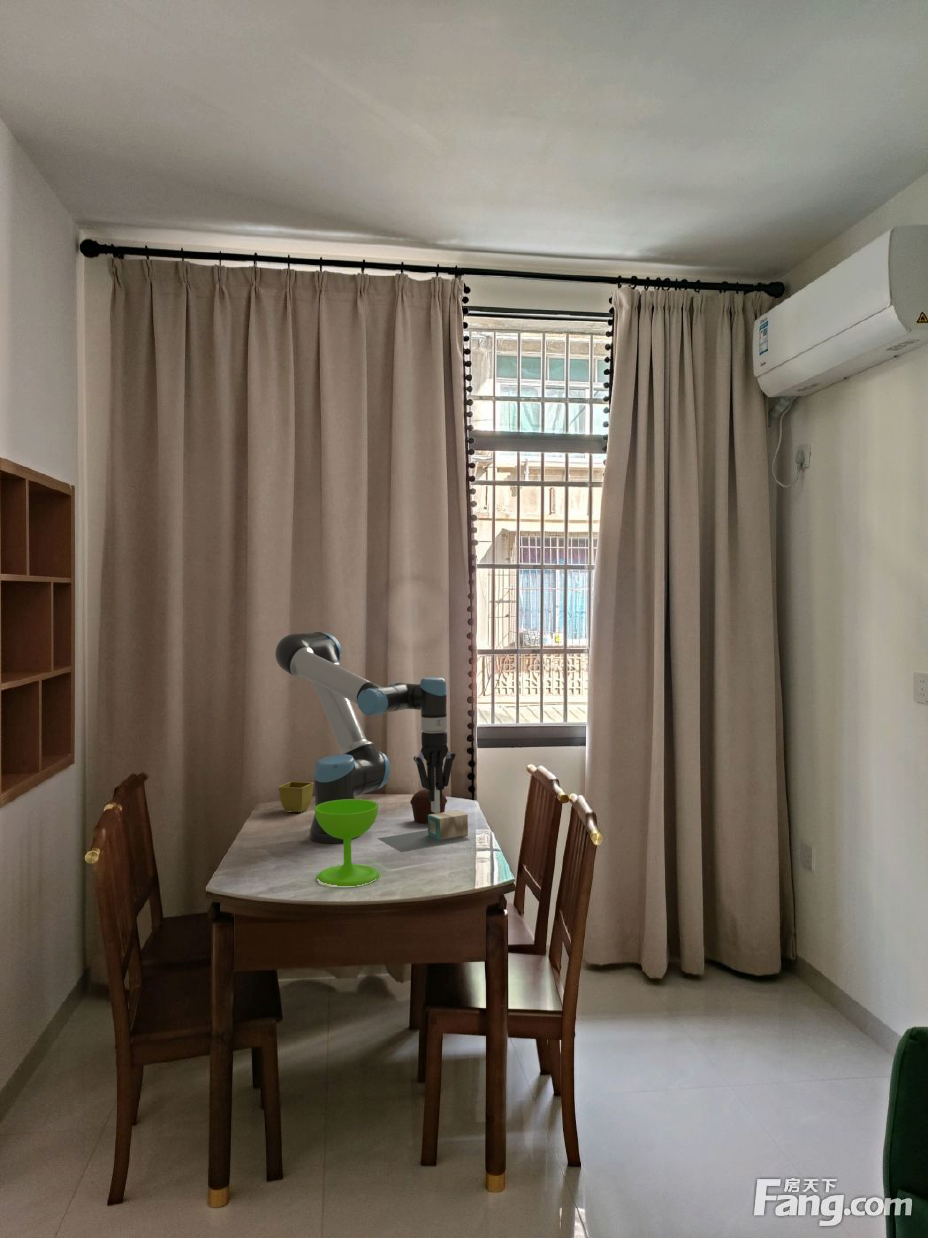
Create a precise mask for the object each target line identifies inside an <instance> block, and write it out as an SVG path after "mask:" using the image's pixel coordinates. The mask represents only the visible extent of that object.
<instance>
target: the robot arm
mask: <svg viewBox="0 0 928 1238" xmlns="http://www.w3.org/2000/svg"><path fill="white" fill-rule="evenodd" d="M274 653H275V655H274V656H275V660H276V662H277V664H278V666H279V667H280V668H281V669H282V670H284V671H285V672H287V674H290V675H291V676H294V677H297V678H301V677H304V678H305V679H306V680H307V681H309V682H311V683H313V686H314V688H315V691H316V693H317V695H318V698H319V701H320V702H321V703H320V704H321V705H322V707H323V710H324V713H325V715H326V718H327V720H328V723H329V725H330V728H331V730H332V733H333V735H334V737H335V740H336V742H337V745H338V747H339V749H340V753H338V754H334V755H332V754H331V755H328V756H323V757H322V758H320V759H319V760H317V762H316V763H315V765H314V774H313V778H314V800H315V802H314V803H315V805H314V807H315V806H317V805H319V804H321V803H324V802H328V801H334V800H343V799H356V796H360V795H363V794H366V793H371V792H375V791H377V790H378V789H381V788H383V787H384V786H385V785H386V784H387V783H388V781H389V780H390V779H389V777H390V775H391V763H390V760H389V758H388V756H387V755H386V753H383V752H382V751H379V750H377V749H376V747H375V744H374V742H372V741H369V740H368V739H367V738H366V735H365V732H364V730H363V728H362V726H361V723H360V720H359V718H358V716H357V714H356V711H355V709H354V707H353V703H354V704H356V705H357V707H358V709H359V710H360V712H361V713H362V714H363V715H366V716H379V715H382V714H386V713H392V712H398V711H404V710H419V711H420V724H421V725H420V727H421V729H420V730H421V740H420V741H421V749H420V753H419V754H418V755H417V756H416V755H415V756H414V757H413V759H412V760H413V761H414V762H415V764H416V767H417V771H418V775H419V780H420V783H421V786H422V788H423V789H428V799H429V801H431V811H432V812H434V813H439V812H440V800H442V794H443V791H444V789H445V787H448V786H449V783H450V782H449V781H450V776H451V772H452V766H453V762H454V760H455V757H456V755H457V754H456V753H455V752H451V751H450V750H449V747H448V732H447V731H446V730H447V729H448V716H447V715H448V713H447V701H448V699H447V696H448V691H447V683H446V682H447V681H446V679H444V678H443V677H423V678H421V679H420V682H419V683H420V684H419V683H418V684H417V683H406V682H394V683H389V685H386V686H380V685H378V684H376V683H374V682H372V681H370V680H368V679H365V678H364V677H362V676H360V675H358V674H356V673H355V672H352V671H349V670H347V669H346V668H344V667H341V659H342V655H341V654H342V647H341V644H340V642H339V641H338V639H337V638H336V637H335V636H334V635H332V634H331V633H329V632H321V631H316V632H308V633H307V632H306V633H291V634H288V635H286V636H284V637H283V638H282V639H280V641H279V642H278V643H277V646H276V648H275V652H274ZM444 759H445V760H444ZM424 760H425V762H426V767H425V764H424ZM426 770H427V771H426ZM310 826H311V827H310V828H309V839H310V840H311V841H313V842H315V843H322V844H340V843H344V842H343V839H339V838H335V837H333V836H331V835H329V834H328V833H326V832H325V831H324V830H323V829H322V827H321V826H320V825H319V823H318V821H317V819H316V816H315V814H314V816H313V818H312V821H311V825H310ZM360 837H361V836H358V837H355V838H353V839H351V841H352V840H355V839H358V838H360Z"/></svg>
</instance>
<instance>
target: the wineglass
mask: <svg viewBox="0 0 928 1238" xmlns="http://www.w3.org/2000/svg"><path fill="white" fill-rule="evenodd" d="M378 811H379V804H378V802H376V801H373V800H369V799H360V798H359V799H358V798H355V799H343V800H334V801H328V802H324V803H321V804H319V805H317V806H315V805H314V815H315V816H316V819H317V821H318V823H319V825H320V826H321V827H322V829H323V830H324V831H325V832H326V833H328V834H329V835H331V836H333V837H335V838H339V839H343V842H342V843H343V863H342V864H340V865H335V866H334V865H333V866H330V867H327V868H325V869H323V870H322V871H320V872H319V873H318V874H317V875H316V877H317V879H319V880H320V881H321V882H323V883H327V884H331V885H337V886H357V885H362V884H365V883H369V882H371V881H373V880H375V879H378V878H380V877H379V875H380V872H379V871H378V870H377V869H376V868H374V867H372V866H368V865H365V864H364V865H363V864H354V863H352V840H351V839H353V838H355V837H358V836H360V837H361V836H363V835H364V834H365V833H366V832H367V831H369V830H370V829H371V827H372V826H373V824H374V823H375V822H376V819H377V816H378ZM358 838H359V837H358ZM353 840H354V839H353ZM378 880H379V879H378Z"/></svg>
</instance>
